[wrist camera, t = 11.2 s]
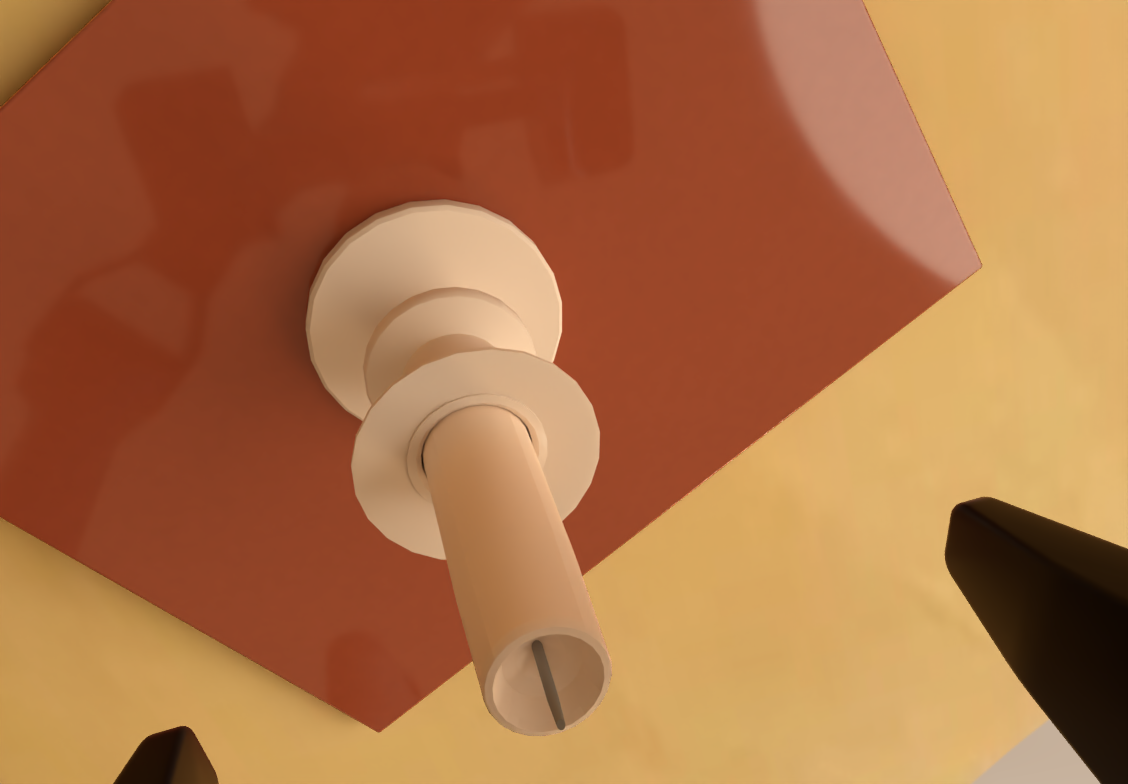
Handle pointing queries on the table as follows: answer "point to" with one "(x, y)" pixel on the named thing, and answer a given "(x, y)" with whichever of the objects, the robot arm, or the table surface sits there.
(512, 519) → the candle
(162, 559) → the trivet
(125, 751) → the table surface
